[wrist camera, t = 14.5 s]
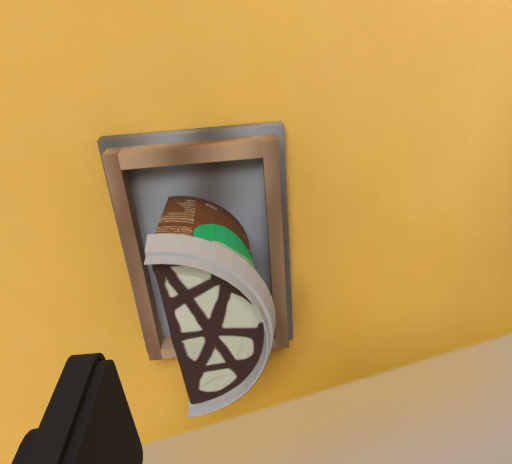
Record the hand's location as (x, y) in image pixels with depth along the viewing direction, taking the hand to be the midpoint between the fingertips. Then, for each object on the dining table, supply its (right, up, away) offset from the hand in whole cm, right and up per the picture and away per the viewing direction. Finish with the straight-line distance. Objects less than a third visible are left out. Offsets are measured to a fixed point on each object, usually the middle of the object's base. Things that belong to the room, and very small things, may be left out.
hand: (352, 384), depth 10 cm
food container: (-4, +2, +26) cm, 27 cm away
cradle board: (-6, +2, +27) cm, 28 cm away
